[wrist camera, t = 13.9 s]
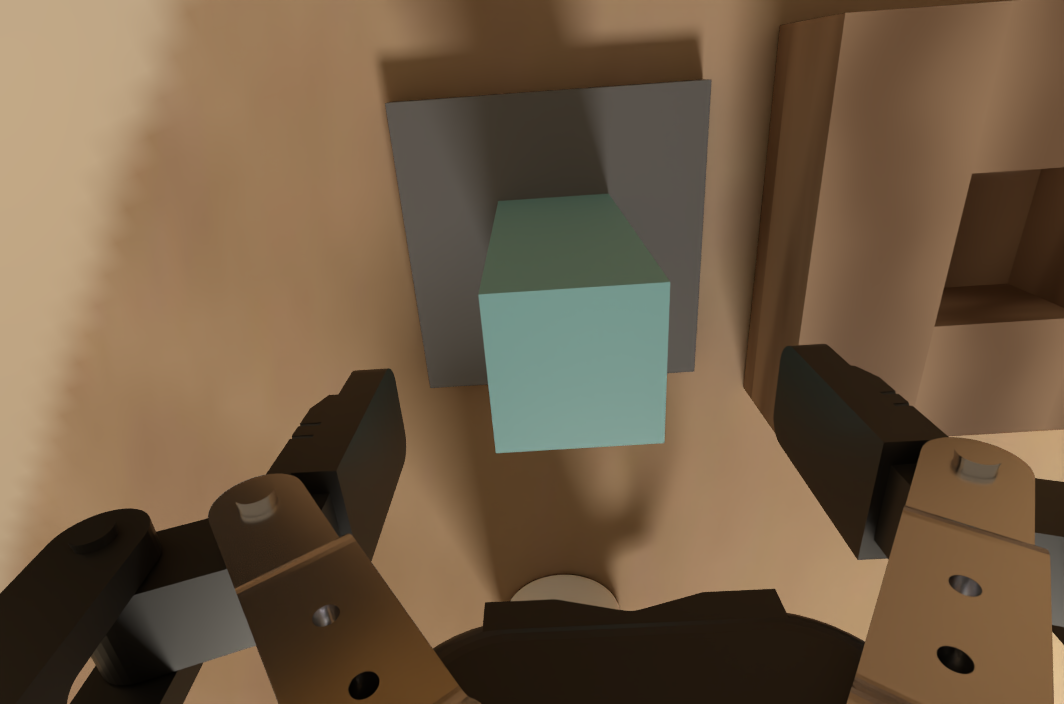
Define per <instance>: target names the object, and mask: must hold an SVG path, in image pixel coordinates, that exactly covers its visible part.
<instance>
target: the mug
mask: <svg viewBox="0 0 1064 704" xmlns="http://www.w3.org/2000/svg"><path fill="white" fill-rule="evenodd" d="M549 599H557V600H563V601H569V602H575V603H581V604H587V605H593V606H599V607H605V608H611V609H617V610H620V608H619V605H618V603H617V601H616V599H615V597H614V596H613V595H612V593H611V592H610V591H609V590H608V589H607V588H605V587H604V586H602V585H601V584H599V583H598V582H596V581H593V580H591V579H588V578H585V577H581V576H576V575H553V576H548V577H544V578H540V579H538V580H535V581H533V582H531V583H529V584H527V585H526V586H524V587H523V588H521V589H520V590H519V591H518V592H517V593H516V594H515V595H514V596H513V597H512V599H511V600H510V601H528V600H549Z"/></svg>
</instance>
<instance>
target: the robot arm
mask: <svg viewBox="0 0 1064 704" xmlns="http://www.w3.org/2000/svg"><path fill="white" fill-rule="evenodd" d="M773 421H774V429H775V434H776V437H777V440H778V442H779V444H780V445H781V447H782V448H783V450H784V451H785V453H786V454H787V456H788V457H789V459H790V460H791V462H792V463H793V465H794V466H795V468H796V469H797V471H798V472H799V473H800V475H801V476H802V478H803V479H804V481H805V482H806V484H807V485H808V487H809V488H810V490H811V491H812V493H813V494H814V496H815V497H816V499H817V500H818V502H819V503H820V505H821V506H822V508H823V509H824V511H825V512H826V514H827V515H828V516H829V518H830V519H831V521H832V522H833V524H834V525H835V527H836V528H837V530H838V531H839V533H840V534H841V536H842V537H843V539H844V540H845V542H846V543H847V545H848V546H849V548H850V549H851V551H852V552H853V554H854V555H855V557H856V558H857V560H866V559H886V558H888V559H889V560H888V564H887V567H886V571H885V574H884V578H883V581H882V585H881V588H880V592H879V595H878V599H877V602H876V606H875V609H874V613H873V616H872V620H871V623H870V627H869V630H868V634H867V637H866V641H865V642H864V641H863V640H861V639H859V638H857V637H855V636H854V635H852V634H850V633H847V632H845V631H843V630H841V629H838V628H836V627H834V626H832V625H829V624H826V623H823V622H820V621H818V620H815V619H811V618H807V617H803V616H800V615H796V614H790V613H786V611H785V609H784V607H783V605H782V603H781V601H780V598H779V596H778V594H777V592H776V590H775V589H762V590H741V591H719V592H702V593H699V594H695V595H691V596H688V597H684V598H681V599H677V600H673V601H670V602H666V603H663V604H659V605H655V606H652V607H648V608H645V609H641V610H636V611H623V610H617V609H611V608H605V607H599V606H593V605H587V604H581V603H575V602H569V601H563V600H557V599H549V600H528V601H507V602H485V609H484V620H483V626H482V627H478V628H475V629H472V630H469V631H467V632H464V633H462V634H459V635H457V636H454V637H453V638H451V639H449V640H447V641H445V642H443V643H441V644H439V645H438V646H436V647H435V648H432V647H431V646H430V644H429V643H428V641H427V640H426V638H425V637H424V636H423V634H422V633H421V631H420V630H419V629H418V627H417V626H416V624H415V623H414V622H413V620H412V619H411V617H410V616H409V615H408V613H407V612H406V610H405V609H404V607H403V606H402V605H401V603H400V602H399V600H398V599H397V598H396V596H395V595H394V593H393V592H392V591H391V589H390V588H389V586H388V585H387V583H386V582H385V581H384V579H383V578H382V576H381V575H380V574H379V572H378V571H377V569H376V568H375V567H374V565H373V564H372V562H371V561H372V558H373V555H374V552H375V549H376V546H377V543H378V540H379V537H380V534H381V531H382V528H383V525H384V522H385V519H386V516H387V513H388V510H389V507H390V504H391V501H392V498H393V495H394V492H395V489H396V486H397V483H398V480H399V477H400V474H401V471H402V468H403V465H404V462H405V455H406V437H405V430H404V424H403V419H402V414H401V408H400V403H399V397H398V392H397V387H396V381H395V377H394V374H393V372H392V370H391V369H374V370H357V371H353V372H352V373H351V375H350V377H349V378H348V380H347V381H346V383H345V385H344V386H343V388H342V390H341V391H340V393H339V395H328V396H327V397H326V398H324V399H323V400H322V401H320V402H319V403H317V404H316V405H315V406H313V407H312V408H310V410H309V411H308V413H307V414H306V416H305V417H304V419H303V420H302V422H301V423H300V426H299V427H298V428H297V429H296V431H295V432H294V434H293V435H292V439H289V441H288V442H287V444H286V445H285V447H284V448H283V450H282V451H281V453H280V454H279V456H278V457H277V459H276V460H275V462H274V463H273V465H272V466H271V468H270V469H269V471H268V472H267V474H266V475H262V476H258V477H254V478H251V479H248V480H246V481H243V482H241V483H239V484H237V485H235V486H233V487H232V488H230V489H229V490H227V491H226V492H224V493H223V494H222V495H221V496H219V497H218V498H217V500H216V501H215V502H214V503H213V504H212V506H211V508H210V510H209V513H208V518H207V519H204V520H200V521H196V522H193V523H189V524H185V525H181V526H177V527H173V528H169V529H165V530H161V531H157V532H156V531H155V529H154V526H153V524H152V522H151V519H150V517H149V516H148V514H147V513H145V512H144V511H142V510H138V509H118V510H113V511H108V512H104V513H101V514H98V515H95V516H93V517H90V518H87V519H85V520H83V521H81V522H79V523H77V524H75V525H73V526H72V527H70V528H68V529H67V530H65V531H64V532H62V533H61V534H59V535H58V536H57V537H55V538H54V539H53V540H52V541H51V542H50V543H49V544H48V545H47V546H46V547H45V548H44V549H43V550H42V551H41V552H40V553H39V554H38V555H37V556H36V557H35V558H34V559H33V560H32V561H31V562H30V563H29V564H28V565H27V566H26V567H25V568H24V569H23V570H22V572H21V573H20V574H19V575H18V576H17V577H16V578H15V579H14V580H13V581H12V582H11V583H10V584H9V585H8V586H7V587H6V588H5V589H4V590H3V591H2V592H1V593H0V704H67V699H68V695H69V692H70V689H71V686H72V684H73V682H74V680H75V679H76V677H77V675H78V674H79V672H80V671H81V670H82V668H83V667H84V665H85V664H86V662H87V661H88V660H89V658H90V657H91V658H92V659H93V661H94V663H95V665H96V666H95V668H94V669H93V671H92V672H91V674H90V675H89V676H88V678H87V679H86V681H85V682H84V684H83V685H82V687H81V688H80V690H79V691H78V693H77V694H76V696H75V697H74V699H73V700H72V701H71V703H70V704H183V702H184V700H185V698H186V696H187V694H188V692H189V690H190V688H191V686H192V684H193V682H194V680H195V678H196V676H197V674H198V672H199V670H200V668H201V666H202V664H203V662H206V661H209V660H212V659H215V658H218V657H221V656H225V655H228V654H231V653H234V652H237V651H240V650H243V649H247V648H250V647H253V646H256V647H257V649H258V652H259V655H260V657H261V660H262V662H263V665H264V668H265V670H266V673H267V676H268V678H269V681H270V683H271V686H272V689H273V691H274V694H275V697H276V699H277V702H278V704H1054V686H1053V647H1052V632H1053V633H1054V634H1055V635H1056V636H1057V637H1058V639H1059V640H1060V641H1061V642H1062V643H1063V644H1064V482H1059V481H1052V480H1044V479H1037V478H1035V476H1034V473H1033V471H1032V469H1031V468H1030V467H1029V466H1028V465H1027V464H1026V463H1025V462H1024V461H1023V460H1022V459H1020V458H1019V457H1017V456H1016V455H1014V454H1012V453H1010V452H1008V451H1006V450H1004V449H1002V448H999V447H997V446H994V445H991V444H988V443H985V442H981V441H977V440H972V439H966V438H957V437H948V436H947V435H946V434H945V433H944V432H943V431H941V430H940V429H939V428H938V427H937V426H936V425H934V424H933V423H932V422H931V421H930V420H929V419H927V418H926V417H925V416H924V415H923V414H922V413H921V412H919V411H918V410H917V409H916V408H915V407H914V406H909V402H908V401H907V400H905V399H904V398H903V397H902V396H901V395H900V394H896V391H895V390H894V389H893V388H892V387H890V386H889V385H888V384H887V383H886V382H885V381H883V380H882V379H881V378H880V377H878V376H876V375H874V374H872V373H870V372H868V371H865V370H863V369H861V368H859V367H857V366H851V365H850V364H848V363H847V362H846V361H845V360H844V359H843V358H842V357H841V356H840V355H839V354H837V353H836V352H835V351H834V350H833V349H832V348H831V347H830V346H828V345H827V344H812V345H795V346H786V347H785V348H784V349H783V351H782V354H781V358H780V365H779V373H778V381H777V389H776V397H775V405H774V414H773Z"/></svg>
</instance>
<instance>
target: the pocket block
mask: <svg viewBox="0 0 1064 704" xmlns="http://www.w3.org/2000/svg"><path fill="white" fill-rule="evenodd" d="M812 344H827V345H828V346H830V347H831V348H832V349H833V350H834V351H835V352H836V353H837V354H839V355H840V356H841V357H842V358H843V359H844V360H845V361H846V362H847V363H848V364H850V365H851V366H857V367H859V368H861V369H863V370H865V371H868V372H870V373H872V374H874V375H876V376H878V377H880V378H881V379H882V380H883V381H885V382H886V383H887V384H888V385H889V386H890V387H892V388H893V389H894V390H895V391H896V394H900V395H901V396H902V397H903V398H904V399H905V400H907V401H908V402H909V406H914V407H915V408H916V409H917V410H918V411H919V412H921V413H922V414H923V415H924V416H925V417H926V418H927V419H929V420H930V421H931V422H932V423H933V424H934V425H936V426H937V427H938V428H939V429H940V430H941V431H943V432H944V433H945V434H946V435H947V436H962V435H979V434H995V433H1012V432H1028V431H1045V430H1061V429H1064V0H1012V1H998V2H985V3H971V4H958V5H944V6H931V7H917V8H904V9H890V10H877V11H863V12H850V13H842V14H837V15H831V16H826V17H821V18H816V19H811V20H805V21H800V22H795V23H790V24H784V25H780V30H779V40H778V50H777V60H776V70H775V80H774V90H773V100H772V110H771V119H770V129H769V139H768V149H767V159H766V169H765V179H764V189H763V199H762V209H761V219H760V229H759V239H758V249H757V259H756V269H755V279H754V288H753V298H752V308H751V318H750V328H749V338H748V348H747V358H746V368H745V378H744V389H745V391H746V392H747V393H748V395H749V396H750V398H751V399H752V401H753V402H754V403H755V405H756V406H757V408H758V409H759V411H760V412H761V414H762V415H763V416H764V418H765V419H766V421H767V422H768V424H769V425H770V426H771V428H772V429H773V431H774V432H775V429H774V421H773V414H774V405H775V397H776V389H777V381H778V373H779V365H780V358H781V354H782V351H783V349H784V348H785V347H786V346H795V345H812Z"/></svg>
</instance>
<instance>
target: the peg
mask: <svg viewBox="0 0 1064 704" xmlns="http://www.w3.org/2000/svg"><path fill="white" fill-rule="evenodd" d="M478 296H479V305H480V314H481V323H482V332H483V341H484V350H485V359H486V368H487V377H488V387H489V396H490V405H491V414H492V423H493V432H494V441H495V450H496V453H508V452H525V451H541V450H558V449H574V448H591V447H607V446H624V445H640V444H657V443H664V439H665V412H666V385H667V358H668V331H669V304H670V281H669V279H668V278H667V277H666V275H665V274H664V272H663V271H662V269H661V268H660V266H659V265H658V264H657V262H656V261H655V259H654V258H653V256H652V255H651V254H650V252H649V251H648V249H647V248H646V246H645V245H644V244H643V242H642V241H641V239H640V238H639V236H638V235H637V234H636V232H635V231H634V229H633V228H632V226H631V225H630V224H629V222H628V221H627V219H626V218H625V216H624V215H623V213H622V212H621V211H620V209H619V208H618V206H617V205H616V203H615V202H614V201H613V199H612V198H611V196H610V195H609V194H595V195H580V196H565V197H551V198H536V199H522V200H507V201H498V205H497V209H496V214H495V219H494V223H493V228H492V233H491V237H490V242H489V247H488V252H487V256H486V261H485V266H484V270H483V275H482V280H481V284H480V289H479V294H478Z"/></svg>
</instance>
